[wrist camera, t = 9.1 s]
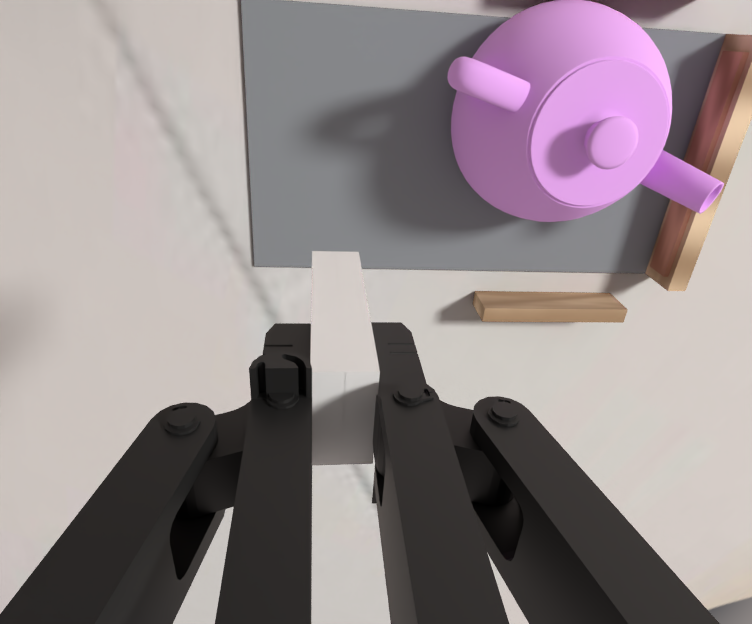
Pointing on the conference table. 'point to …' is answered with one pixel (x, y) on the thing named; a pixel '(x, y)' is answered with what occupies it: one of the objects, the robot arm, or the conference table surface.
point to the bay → (680, 224)
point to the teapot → (568, 115)
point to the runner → (413, 146)
